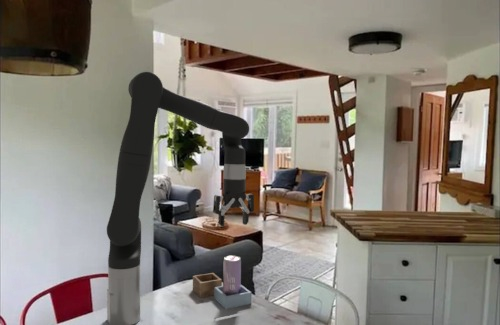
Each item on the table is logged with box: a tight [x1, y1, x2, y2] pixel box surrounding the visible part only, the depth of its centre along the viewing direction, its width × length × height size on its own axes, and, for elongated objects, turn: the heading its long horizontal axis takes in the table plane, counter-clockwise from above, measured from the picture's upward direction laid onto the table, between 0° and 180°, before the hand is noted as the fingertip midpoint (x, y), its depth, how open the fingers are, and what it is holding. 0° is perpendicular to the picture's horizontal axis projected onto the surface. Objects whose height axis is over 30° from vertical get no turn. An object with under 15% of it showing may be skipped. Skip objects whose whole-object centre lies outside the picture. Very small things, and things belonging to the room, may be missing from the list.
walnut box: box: [192, 272, 223, 299], centre depth 136 cm, size 8×8×6 cm
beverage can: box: [222, 255, 242, 296], centre depth 128 cm, size 6×6×15 cm
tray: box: [213, 284, 253, 310], centre depth 128 cm, size 10×10×5 cm
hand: (233, 225), depth 127 cm, fingers open, 8 cm apart
